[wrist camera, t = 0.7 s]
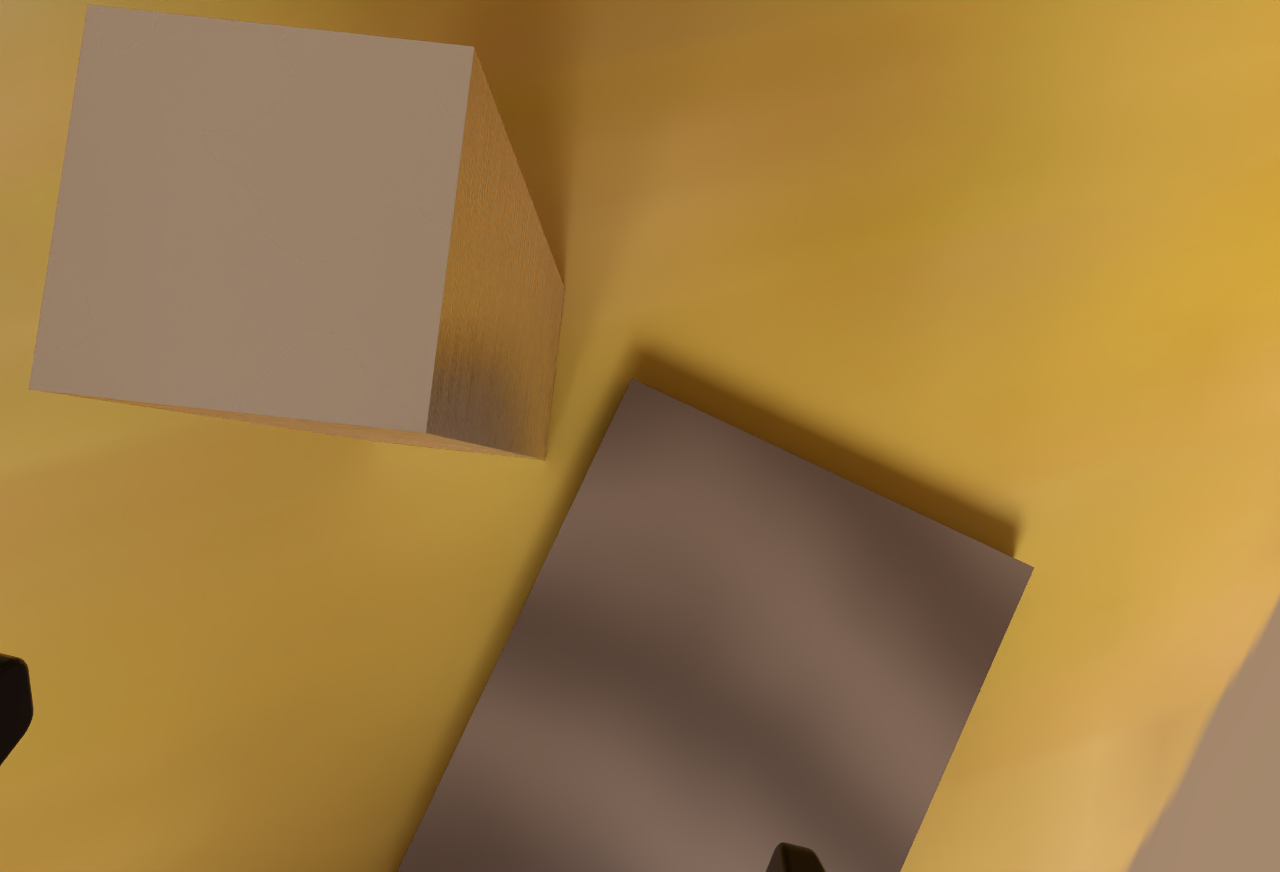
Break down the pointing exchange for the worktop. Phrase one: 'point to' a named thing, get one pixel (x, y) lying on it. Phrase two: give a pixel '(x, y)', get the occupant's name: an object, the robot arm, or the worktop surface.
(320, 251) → the aluminium block
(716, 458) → the plate
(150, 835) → the worktop surface
